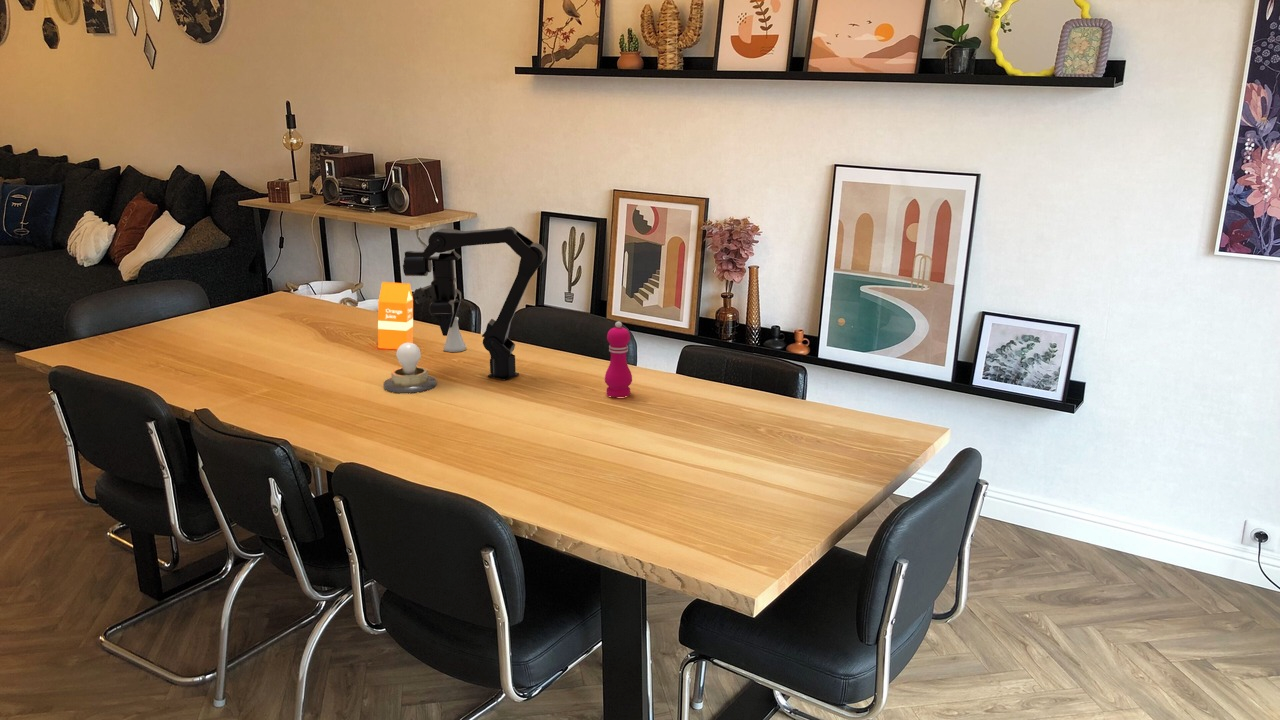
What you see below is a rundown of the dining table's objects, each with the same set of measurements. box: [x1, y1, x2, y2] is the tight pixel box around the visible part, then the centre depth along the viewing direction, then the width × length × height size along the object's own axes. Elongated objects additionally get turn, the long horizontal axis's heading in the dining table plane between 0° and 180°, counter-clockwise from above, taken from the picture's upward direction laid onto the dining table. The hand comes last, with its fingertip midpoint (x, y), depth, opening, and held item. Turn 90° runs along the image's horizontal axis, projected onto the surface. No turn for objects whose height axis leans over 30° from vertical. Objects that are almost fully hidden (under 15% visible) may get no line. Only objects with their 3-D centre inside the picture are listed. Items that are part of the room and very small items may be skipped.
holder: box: [383, 366, 438, 395], centre depth 253 cm, size 14×14×4 cm
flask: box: [443, 316, 467, 353], centre depth 287 cm, size 7×7×10 cm
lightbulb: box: [395, 343, 422, 376], centre depth 252 cm, size 6×6×11 cm
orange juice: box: [377, 281, 414, 350], centre depth 289 cm, size 8×9×20 cm
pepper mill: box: [604, 321, 633, 398], centre depth 245 cm, size 7×7×20 cm
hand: (447, 331), depth 259 cm, fingers open, 9 cm apart
